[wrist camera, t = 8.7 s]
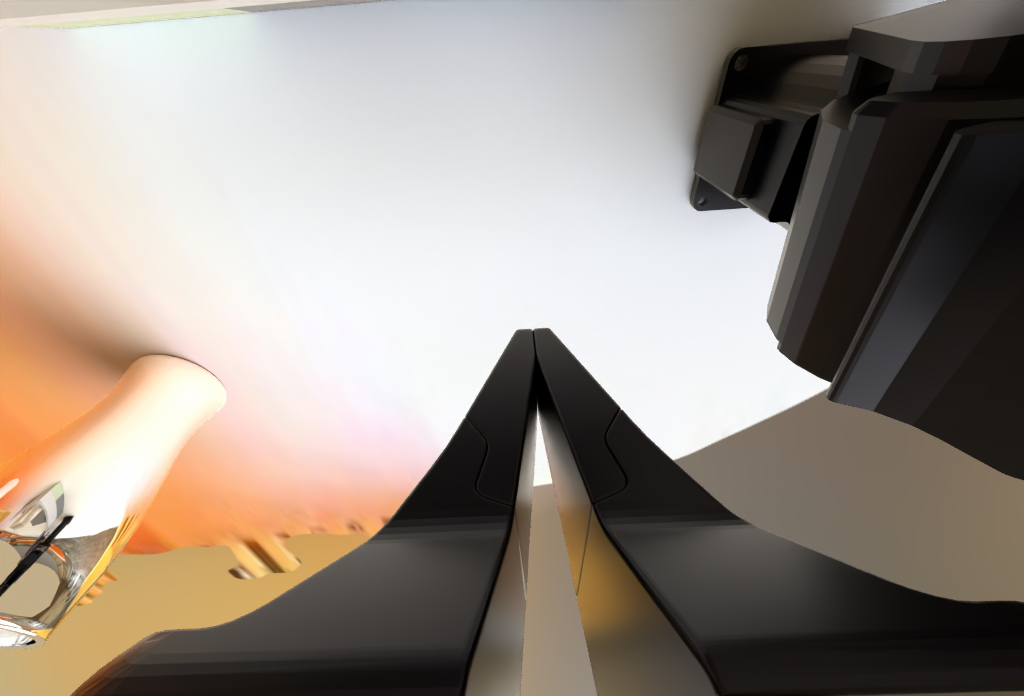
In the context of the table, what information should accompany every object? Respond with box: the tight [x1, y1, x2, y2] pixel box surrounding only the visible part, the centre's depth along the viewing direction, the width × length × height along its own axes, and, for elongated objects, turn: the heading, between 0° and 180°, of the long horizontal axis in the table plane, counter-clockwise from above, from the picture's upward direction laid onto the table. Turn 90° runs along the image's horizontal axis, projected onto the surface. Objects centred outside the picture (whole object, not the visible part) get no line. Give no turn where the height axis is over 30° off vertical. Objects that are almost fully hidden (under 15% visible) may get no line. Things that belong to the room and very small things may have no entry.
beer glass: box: [0, 355, 227, 650], centre depth 21 cm, size 7×7×15 cm
